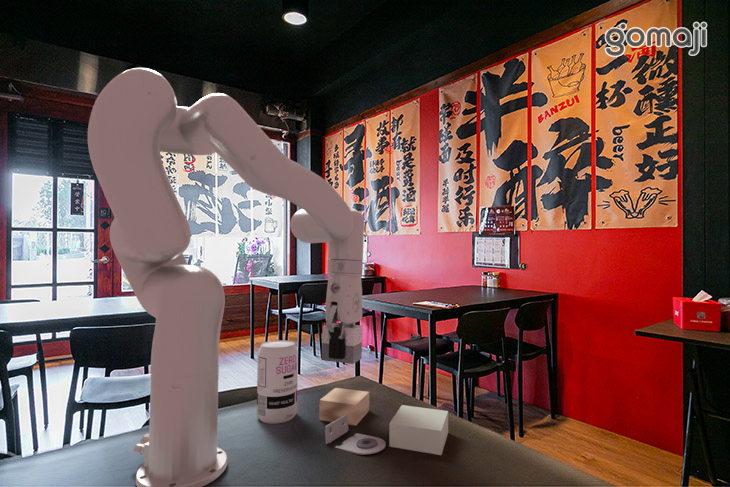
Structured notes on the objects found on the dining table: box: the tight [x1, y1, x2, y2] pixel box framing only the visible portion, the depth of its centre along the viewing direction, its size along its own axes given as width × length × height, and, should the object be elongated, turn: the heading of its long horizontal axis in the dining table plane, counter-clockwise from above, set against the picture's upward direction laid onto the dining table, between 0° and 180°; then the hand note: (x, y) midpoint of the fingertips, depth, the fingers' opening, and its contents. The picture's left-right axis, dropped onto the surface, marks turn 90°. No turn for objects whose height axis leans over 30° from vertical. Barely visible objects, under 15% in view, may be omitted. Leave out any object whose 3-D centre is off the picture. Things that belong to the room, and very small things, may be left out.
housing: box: [320, 324, 363, 365], centre depth 81 cm, size 7×5×7 cm
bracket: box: [324, 415, 386, 455], centre depth 68 cm, size 7×10×4 cm, turn 57°
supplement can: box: [256, 339, 299, 425], centre depth 80 cm, size 8×8×15 cm
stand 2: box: [388, 404, 449, 456], centre depth 70 cm, size 9×9×4 cm
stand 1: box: [318, 387, 370, 426], centre depth 81 cm, size 8×8×4 cm
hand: (341, 354), depth 81 cm, fingers closed on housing, 5 cm apart
